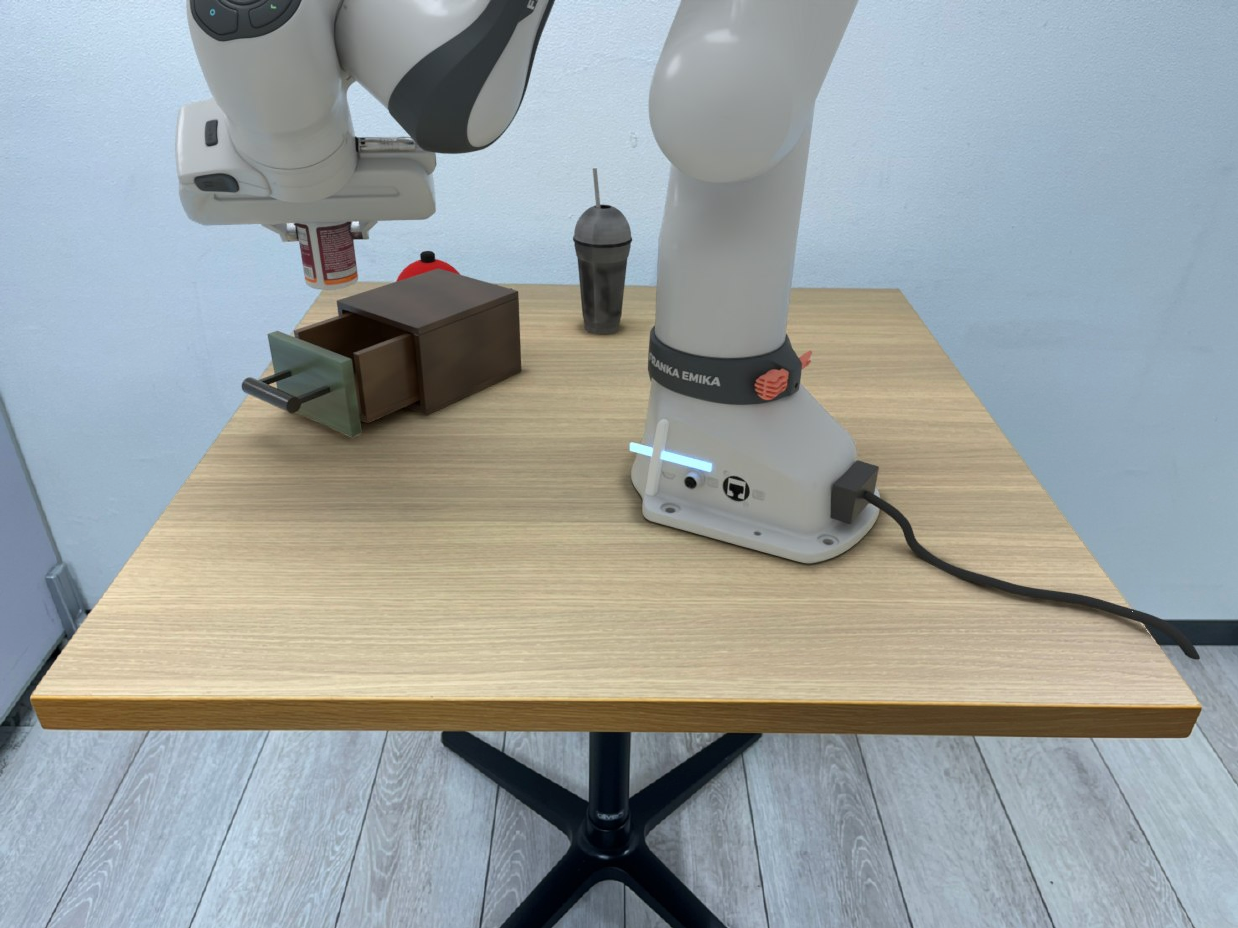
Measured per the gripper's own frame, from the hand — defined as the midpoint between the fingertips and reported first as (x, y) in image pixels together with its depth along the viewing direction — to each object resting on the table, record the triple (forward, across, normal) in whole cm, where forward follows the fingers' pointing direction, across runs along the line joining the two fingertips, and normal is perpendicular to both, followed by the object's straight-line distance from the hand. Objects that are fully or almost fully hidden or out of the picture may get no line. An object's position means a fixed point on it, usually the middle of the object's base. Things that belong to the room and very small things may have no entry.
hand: (325, 233), depth 83 cm
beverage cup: (+30, -30, -2) cm, 42 cm away
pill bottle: (+3, 0, +4) cm, 5 cm away
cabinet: (+21, -8, +6) cm, 24 cm away
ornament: (+32, -8, -4) cm, 33 cm away
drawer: (+15, 0, +12) cm, 19 cm away
